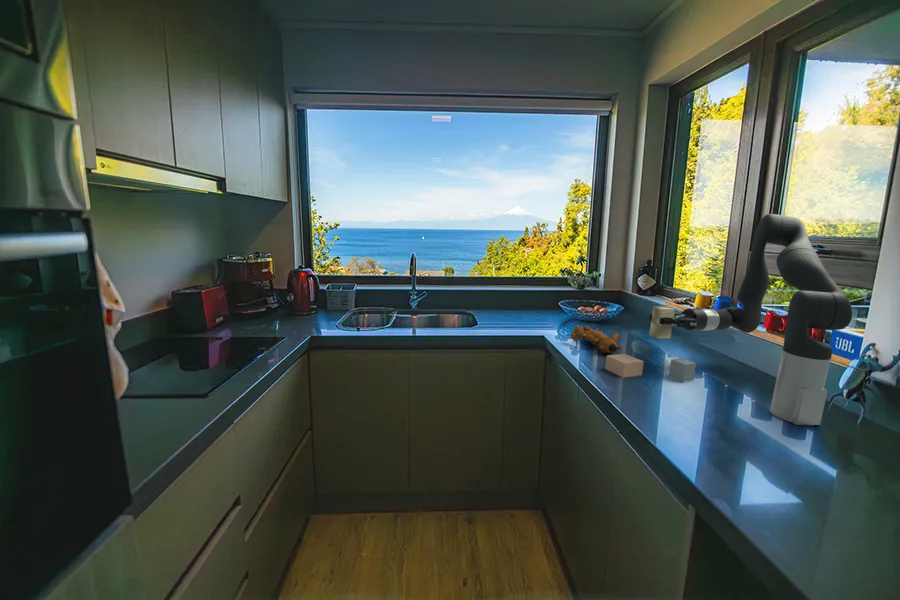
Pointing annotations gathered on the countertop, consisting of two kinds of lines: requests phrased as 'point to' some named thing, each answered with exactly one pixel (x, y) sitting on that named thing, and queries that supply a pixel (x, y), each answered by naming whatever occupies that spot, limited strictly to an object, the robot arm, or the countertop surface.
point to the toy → (597, 339)
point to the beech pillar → (658, 329)
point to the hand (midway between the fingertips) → (655, 319)
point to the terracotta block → (624, 365)
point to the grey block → (682, 370)
